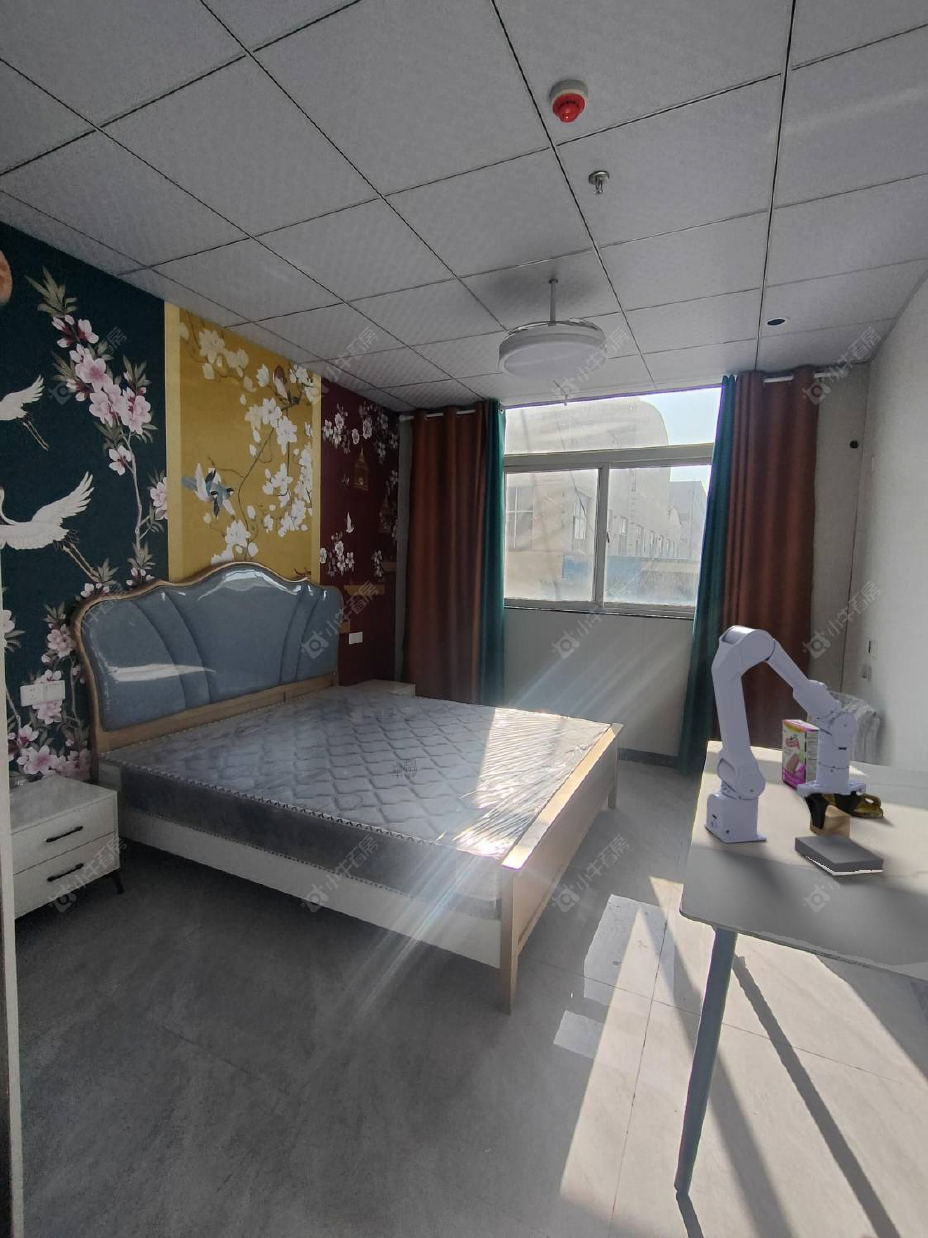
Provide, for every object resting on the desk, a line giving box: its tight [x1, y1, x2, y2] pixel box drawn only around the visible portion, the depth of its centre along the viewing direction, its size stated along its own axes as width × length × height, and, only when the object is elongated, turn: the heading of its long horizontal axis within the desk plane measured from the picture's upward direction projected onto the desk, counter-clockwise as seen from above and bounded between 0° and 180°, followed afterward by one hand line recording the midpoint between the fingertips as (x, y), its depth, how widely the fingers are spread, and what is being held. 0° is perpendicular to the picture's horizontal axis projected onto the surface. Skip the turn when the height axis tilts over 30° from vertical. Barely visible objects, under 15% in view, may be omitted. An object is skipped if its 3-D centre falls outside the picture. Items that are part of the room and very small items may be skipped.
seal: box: [822, 792, 884, 818], centre depth 131 cm, size 9×5×15 cm
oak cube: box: [809, 805, 852, 839], centre depth 118 cm, size 5×5×5 cm
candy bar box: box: [781, 719, 820, 790], centre depth 142 cm, size 11×5×16 cm, turn 178°
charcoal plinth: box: [794, 834, 884, 872], centre depth 107 cm, size 10×10×2 cm
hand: (829, 826), depth 118 cm, fingers closed on oak cube, 5 cm apart
